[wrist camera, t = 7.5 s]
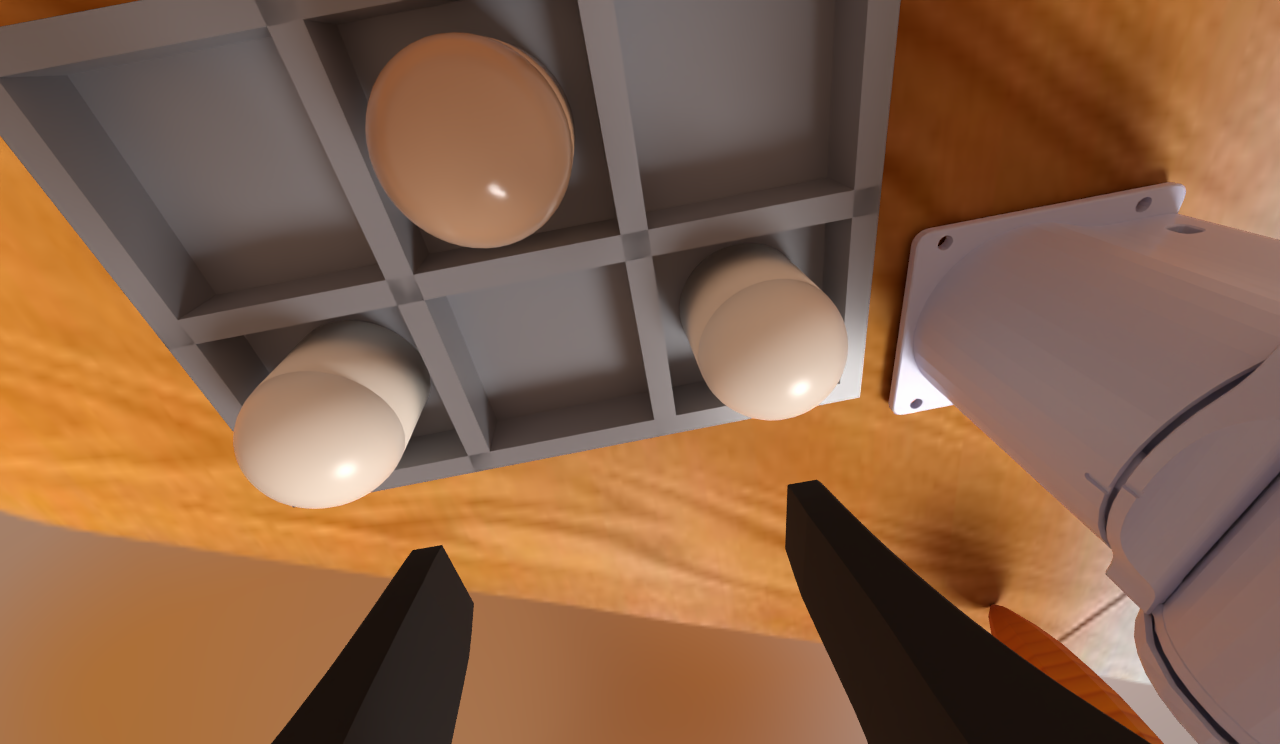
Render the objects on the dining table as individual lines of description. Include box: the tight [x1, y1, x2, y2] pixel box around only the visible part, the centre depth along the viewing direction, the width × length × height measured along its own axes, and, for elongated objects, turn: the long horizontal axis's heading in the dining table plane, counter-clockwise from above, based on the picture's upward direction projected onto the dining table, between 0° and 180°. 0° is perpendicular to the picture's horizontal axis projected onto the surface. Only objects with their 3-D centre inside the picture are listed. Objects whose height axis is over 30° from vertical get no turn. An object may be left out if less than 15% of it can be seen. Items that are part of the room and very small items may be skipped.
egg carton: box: [0, 0, 901, 509], centre depth 14 cm, size 21×14×6 cm
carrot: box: [988, 604, 1164, 744], centre depth 25 cm, size 5×5×15 cm
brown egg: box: [365, 32, 575, 248], centre depth 12 cm, size 4×4×5 cm
